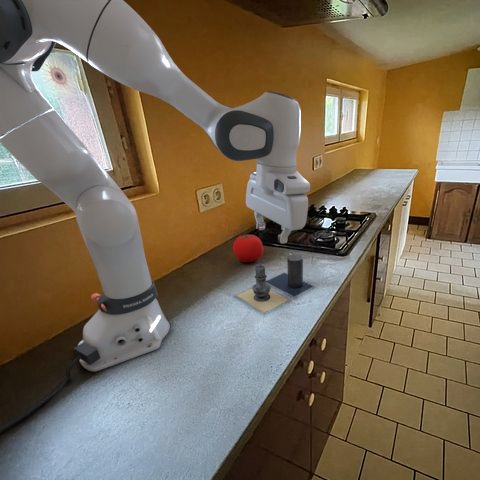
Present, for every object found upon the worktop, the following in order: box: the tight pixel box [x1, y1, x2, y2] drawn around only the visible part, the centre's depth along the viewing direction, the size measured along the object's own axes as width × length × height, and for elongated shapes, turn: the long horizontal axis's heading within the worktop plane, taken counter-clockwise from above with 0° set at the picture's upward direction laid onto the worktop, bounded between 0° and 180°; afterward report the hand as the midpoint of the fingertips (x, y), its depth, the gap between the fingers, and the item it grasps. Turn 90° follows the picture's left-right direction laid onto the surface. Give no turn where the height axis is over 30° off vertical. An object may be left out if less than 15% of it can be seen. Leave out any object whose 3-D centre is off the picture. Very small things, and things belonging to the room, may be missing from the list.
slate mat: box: [266, 272, 314, 298], centre depth 102 cm, size 9×14×1 cm, turn 42°
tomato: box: [232, 233, 264, 263], centre depth 119 cm, size 12×12×10 cm
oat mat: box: [235, 287, 289, 314], centre depth 95 cm, size 10×14×1 cm
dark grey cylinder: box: [286, 254, 304, 289], centre depth 99 cm, size 5×5×10 cm
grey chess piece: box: [251, 262, 272, 302], centre depth 92 cm, size 6×6×12 cm
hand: (271, 235), depth 74 cm, fingers open, 8 cm apart
